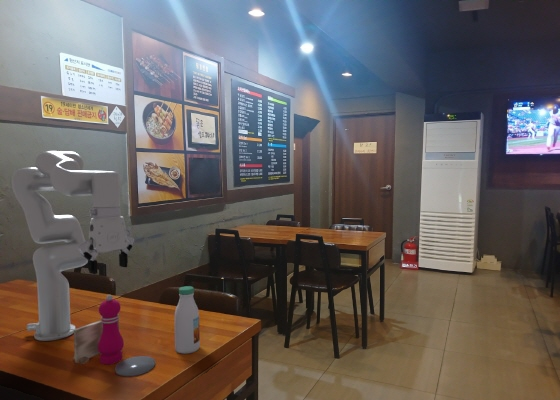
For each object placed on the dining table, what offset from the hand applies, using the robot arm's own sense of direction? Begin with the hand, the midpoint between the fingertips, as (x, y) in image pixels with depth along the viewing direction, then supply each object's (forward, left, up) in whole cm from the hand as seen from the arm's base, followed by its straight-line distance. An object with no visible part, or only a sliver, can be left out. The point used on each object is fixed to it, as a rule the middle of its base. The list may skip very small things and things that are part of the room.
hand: (108, 269), depth 116 cm
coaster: (+8, -6, -28) cm, 29 cm away
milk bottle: (+22, +3, -28) cm, 36 cm away
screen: (-5, +5, -28) cm, 29 cm away
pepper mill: (0, 0, -28) cm, 28 cm away
